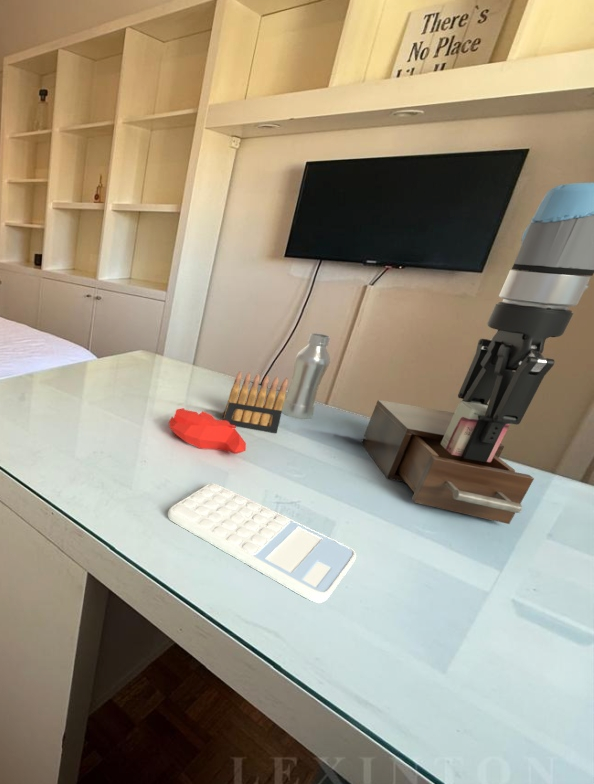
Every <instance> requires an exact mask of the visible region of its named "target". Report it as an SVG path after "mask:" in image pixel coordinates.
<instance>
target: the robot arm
mask: <svg viewBox="0 0 594 784" xmlns="http://www.w3.org/2000/svg"><path fill="white" fill-rule="evenodd" d="M522 233H523V234H522V236H521V246H520V248H519V251H518V253H517V255H516V257H515V259H514V262H513V265H512V267H511V269H509V271H508V274H507V277H506V279H505V281H504V283H503V286H502V288H501V290H500V291H499V294H498V297H499V298H500V299H502V301H499V302H497V303H495V304H494V307H493V309H492V311H491V314H490V316H489V318H488V321H487V327H489V328H490V329H493V330H497V331H496V332H495V334H494V335H493V336H492V338H491V339H488V338H480V339H479V340H478V342H477V346H476V351H475V354H474V357H473V359H472V361H471V363H470V365H469V366H470V367H469V368H468V371H467V373H466V375H465V378H464V380H463V382H462V385H461V387H460V389H459V391H458V394H457V398H458V399H460V400H461V399H462V400H461V401H464V402H470V403H476V404H483V405H488V407H487V411H486V414H485V416H480V415H478V422H477V424H476V426H475V428H474V430H473V432H472V434H471V437H470V439H469V441H468V443H467V445H466V447H465V449H464V452H463V454H462V457H463V458H466V459H471V460H476V461H482V462H487V460H488V458H489V456H490V454H491V452H492V450H493V448H494V446H495V444H496V442H497V440H498V438H499V435H500V433H501V431H502V429H503V427H504V426H505V425H506V424H510V425H516V426H518V425H520V424H521V422H522V420H523V418H524V416H525V414H526V413H527V410H528V408H529V407H530V405H531V403H532V401H533V398H534V397H535V395H536V393H537V391H538V390H539V387H540V385H541V383H542V381H543V379H544V378H545V376H546V375H547V374H548V372H550V370H551V369H552V368H553V366H554V365H555V360H554V358H548V357H547V358H546V357H544V356H543V352H544V349H545V343H546V340H547V339H549V338H559V337H561V336H562V335H564V333H565V331H566V329H567V327H568V326H569V323H570V321H571V319H572V318H573V315H574V312H573V310H570V309H569V308H570V307H575V306H577V305H578V304H579V302H580V301H581V298H582V296H583V294H584V293H585V291H586V290H588V289H589V287H590V285H589V281H590V280H591V277H592V276H593V275H594V182H577V183H566V184H565V183H564V184H560V185H557V186H554V187H552V188H551V189H549V190H548V191H547V192H546V193H545V195H544V196H543V198H542V200H541V201H540V203H539V205H538V207H537V209H536V211H535V213H534V215H533V216H532V217H531V219H530V223H529V224H528V226H526V228H525V230H524V231H523V232H522Z"/></svg>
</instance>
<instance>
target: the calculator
mask: <svg viewBox="0 0 594 784" xmlns="http://www.w3.org/2000/svg"><path fill="white" fill-rule="evenodd" d="M167 516H168V517H167V518H168V519H169V520H170V521H171V522H172V523H174V524H176V525H177V526H179V527H181V529H184V530H186V531H188V532H189V533H191V534H193V535H195V536H196V537H198V538H200V539H201V540H203V541H205V542H207V543H209V544H210V545H212V546H214V547H216V548H217V549H219V550H221V551H222V552H224V553H226V554H228V555H230V556H231V557H233V558H234V559H236V560H238V561H240V562H242V563H244V565H247V566H249V567H250V568H252V569H254V570H256V571H257V572H258V573H261V574H263V575H264V576H266V577H268V578H269V579H270V580H272V581H275V582H276V583H278V584H280V585H282V586H284V587H285V588H287V589H288V590H290V591H292V592H294V593H296V594H297V595H299V596H301V597H303V598H305V599H306V600H309V601H311V602H313V603H316V604H321V603H322V604H323V603H324V602H326V601H327V600H328V599H329V598H330V597H331V595H332V594H333V592H334V591H335V590H336V588H337V587H338V586H339V584H340V583H341V581H342V580H343V579H344V577H345V575H347V573H348V572H349V570H350V569H351V568H352V566H353V564H354V563H355V561H356V559H357V552H356V551H355V550H354V549H353V548H352V547H350V546H349V545H346V544H345V543H343V542H340V541H338V540H336V539H334V538H331V536H327V535H326V534H324V533H322V532H319V531H318V530H315V529H313V528H311V527H309V526H307V525H304V524H303V523H300V522H298V521H296V520H295V519H292V518H289V517H287V516H286V515H283V514H281V513H279V512H277V511H275V510H273V509H271V508H269V507H266V506H264V505H262V504H261V503H258V502H256V501H254V500H252V499H250V498H248V497H245V496H243V495H241V494H239V493H237V492H235V491H232V490H231V489H228V488H226V487H224V486H221V485H220V484H217V483H208V484H206V485H205V486H203V487H202V488H199V489H197V490H196V491H195V492H193V493H191V494H190V495H188V496H187V497H185V498H183V499H182V500H180V501H178V502H176V503H175V504H173V505H172V506H171V507H170V508H169V509H168V512H167Z"/></svg>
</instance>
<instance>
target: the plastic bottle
mask: <svg viewBox="0 0 594 784" xmlns="http://www.w3.org/2000/svg"><path fill="white" fill-rule="evenodd" d="M330 338H331V336H330V335H327V334H323V333H310V335H309V338H308V339H307V343H308V344H307V345H306V346H304V347H303V348H302V349H300V350H299V351H298V353H297V354H296V356H295V359H294V367H293V373H292V377H291V382H290V385H289V388H288V389H287V392H286V395H285V401H284V404H283V408H282V413H281V414H283V415H285V416H287V417H291V418H292V419H293V418H294V419H297V420H310V419H312V417H313V415H314V412H315V403H316V399H317V394H318V390H319V387H320V384H321V382H322V380H323V378H324V375H325V373H326V371H328V370H327V369H328V367H329V365H330V363H331V358H330V354H329V351H328V350H327V347H328V346H329V342H330Z"/></svg>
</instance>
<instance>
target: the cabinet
mask: <svg viewBox="0 0 594 784" xmlns="http://www.w3.org/2000/svg"><path fill="white" fill-rule="evenodd" d="M454 413H455V412H452V411H447V410H441V409H434V408H429V407H424V406H417V405H412V404H405V403H400V402H399V403H398V402H395V401H388V400H381V399H377V401H376V404H375V405H374V409H373V411H372V414H371V416H370V419H369V421H368V425H367V426H366V430H365V432H364V435H363V436H364V438H362V440H361V443H360V444H361V445H362V447H363V448H364V450H365V451H366V452H367V453H368V455H369V456H370V458H371V459H372V461H374V463H375V464H376V466H377V468H378V469H379V470H380V471H381V472H382V474H383V475H384V477H385V478H386V479H388V480H393V481H398V482H402V483H406V482H405V481H404V479H403V478H402V477H401V476H400V474H399V473H398V472H397V468H398V466H399V464H400V461H401V459H402V456H403V454H404V452H405V449H406V447H407V445H408V442H409V440H410V438H411V435H412V434H413V435H418V436H423V437H429V438H434V439H439V440H443V437H444V435H445V433H446V431H447V429H448V426H449V424H450V422H451V420H452V417H453V415H454ZM504 448H505V445H503V443H502V444H501V443H500V445H499V447H498V449H497V451H496V453H495V455H496V456H497V457H498V458H500V456H501V454H502V453H503V450H504Z"/></svg>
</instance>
